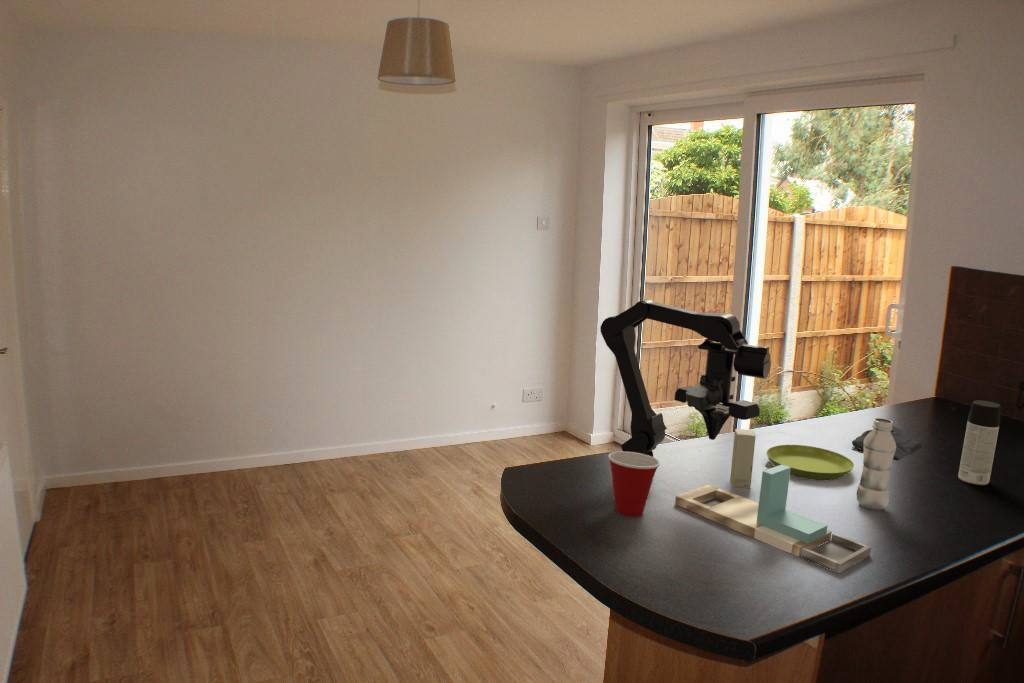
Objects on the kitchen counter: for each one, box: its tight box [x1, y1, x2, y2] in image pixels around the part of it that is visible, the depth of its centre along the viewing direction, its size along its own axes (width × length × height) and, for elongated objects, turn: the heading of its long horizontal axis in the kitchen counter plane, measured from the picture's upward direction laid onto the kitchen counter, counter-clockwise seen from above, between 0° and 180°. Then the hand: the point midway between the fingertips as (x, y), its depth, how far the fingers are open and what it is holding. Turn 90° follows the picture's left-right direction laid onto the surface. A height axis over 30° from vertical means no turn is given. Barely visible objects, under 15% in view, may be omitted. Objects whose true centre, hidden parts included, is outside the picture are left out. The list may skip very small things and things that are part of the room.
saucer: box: [765, 444, 855, 481], centre depth 187 cm, size 21×21×3 cm
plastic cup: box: [608, 450, 661, 518], centre depth 155 cm, size 11×11×12 cm
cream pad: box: [753, 526, 799, 554], centre depth 147 cm, size 8×12×2 cm, turn 129°
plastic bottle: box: [856, 417, 896, 511], centre depth 163 cm, size 6×7×20 cm
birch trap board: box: [674, 484, 872, 574], centre depth 151 cm, size 37×12×2 cm, turn 40°
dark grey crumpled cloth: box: [851, 425, 923, 461], centre depth 209 cm, size 15×22×5 cm
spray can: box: [957, 399, 1002, 486], centre depth 182 cm, size 7×7×20 cm
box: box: [729, 428, 757, 489], centre depth 173 cm, size 5×4×13 cm
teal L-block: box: [756, 465, 828, 544], centre depth 145 cm, size 11×7×11 cm, turn 40°
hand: (712, 439), depth 165 cm, fingers closed
